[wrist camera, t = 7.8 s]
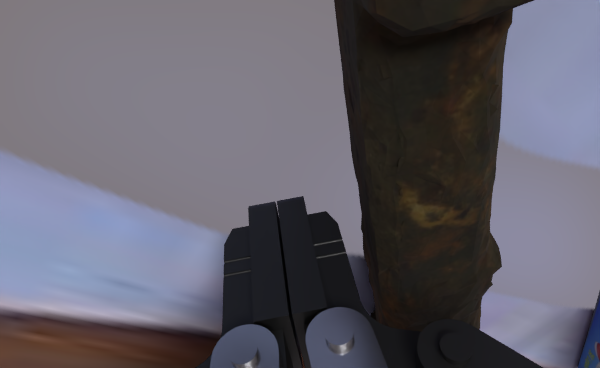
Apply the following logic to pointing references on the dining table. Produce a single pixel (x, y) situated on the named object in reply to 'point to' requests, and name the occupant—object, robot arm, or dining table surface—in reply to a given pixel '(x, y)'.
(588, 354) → the medicine box
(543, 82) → the dining table surface
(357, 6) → the dark brown rod
